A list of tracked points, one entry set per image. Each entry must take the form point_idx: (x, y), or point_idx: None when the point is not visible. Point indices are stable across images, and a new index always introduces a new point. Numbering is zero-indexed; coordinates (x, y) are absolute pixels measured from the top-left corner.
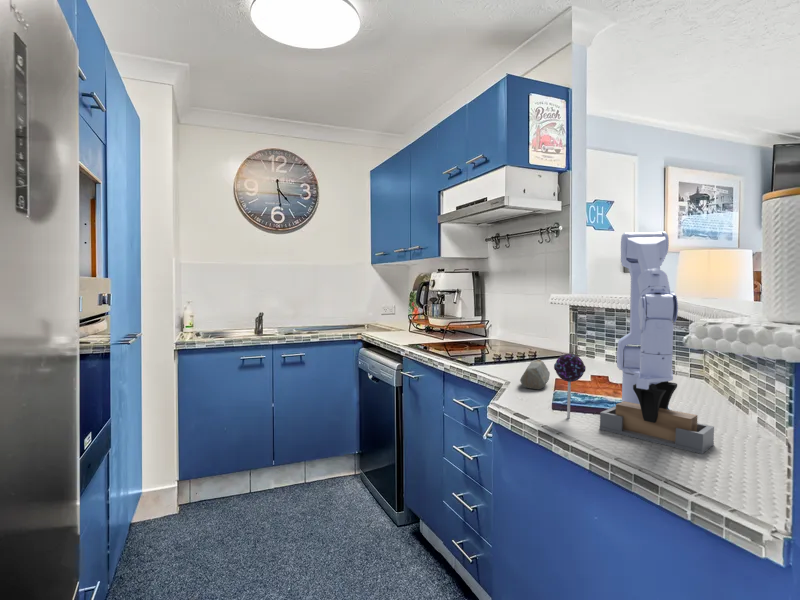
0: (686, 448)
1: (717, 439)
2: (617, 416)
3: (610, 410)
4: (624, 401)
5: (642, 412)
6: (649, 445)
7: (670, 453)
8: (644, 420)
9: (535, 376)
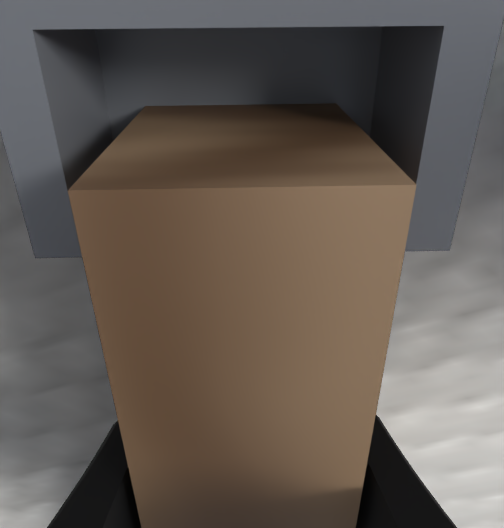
0: None
1: (450, 518)
2: (22, 208)
3: (205, 12)
4: (399, 205)
5: (82, 482)
6: (44, 382)
7: (26, 470)
8: (114, 426)
9: None
